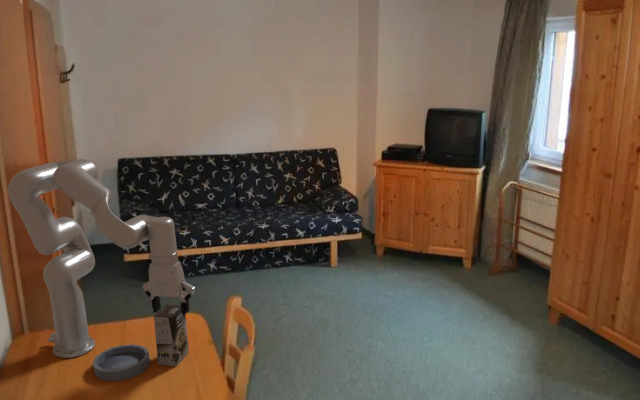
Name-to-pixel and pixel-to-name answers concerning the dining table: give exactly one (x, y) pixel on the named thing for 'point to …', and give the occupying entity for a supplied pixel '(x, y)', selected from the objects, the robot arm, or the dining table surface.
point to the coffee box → (171, 335)
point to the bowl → (121, 362)
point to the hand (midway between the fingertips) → (171, 311)
